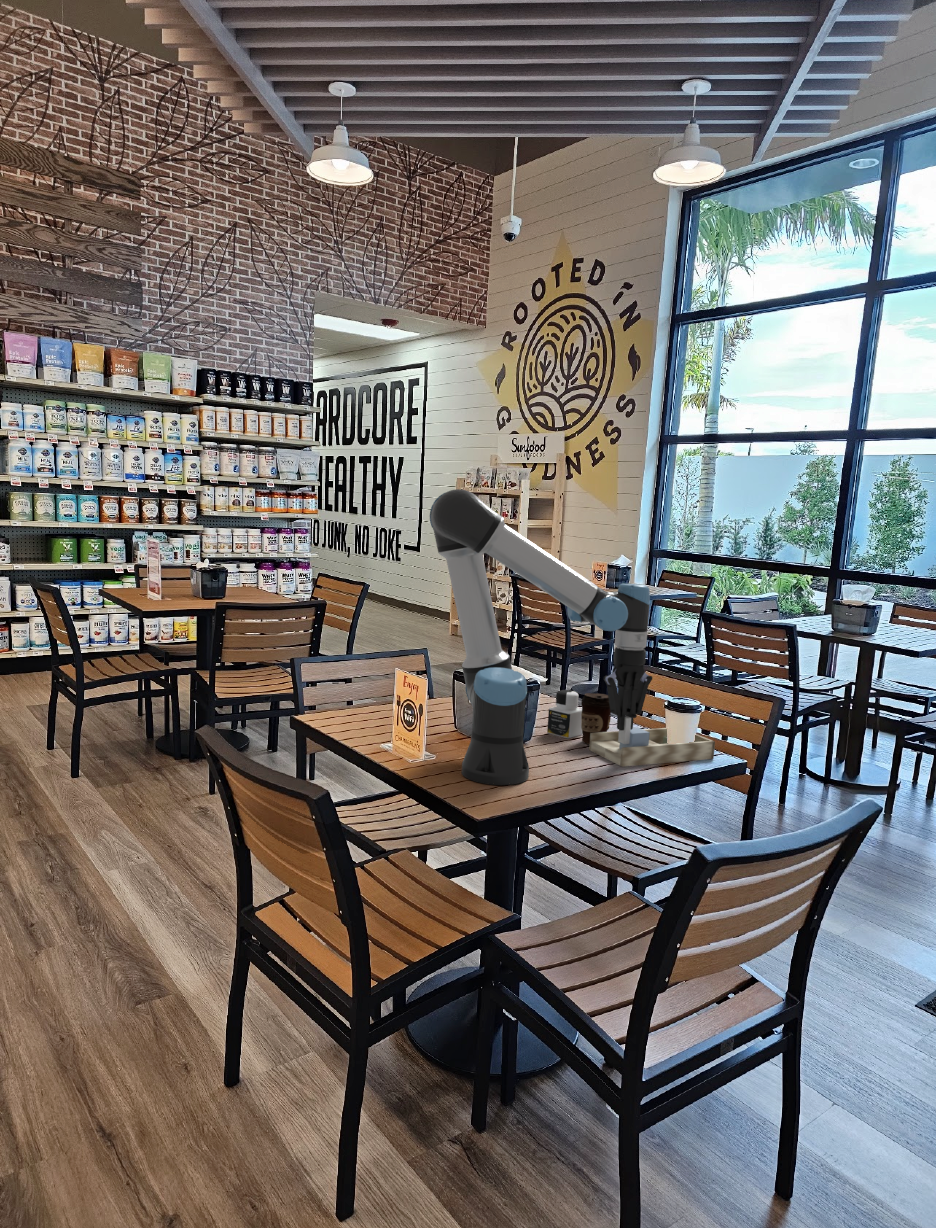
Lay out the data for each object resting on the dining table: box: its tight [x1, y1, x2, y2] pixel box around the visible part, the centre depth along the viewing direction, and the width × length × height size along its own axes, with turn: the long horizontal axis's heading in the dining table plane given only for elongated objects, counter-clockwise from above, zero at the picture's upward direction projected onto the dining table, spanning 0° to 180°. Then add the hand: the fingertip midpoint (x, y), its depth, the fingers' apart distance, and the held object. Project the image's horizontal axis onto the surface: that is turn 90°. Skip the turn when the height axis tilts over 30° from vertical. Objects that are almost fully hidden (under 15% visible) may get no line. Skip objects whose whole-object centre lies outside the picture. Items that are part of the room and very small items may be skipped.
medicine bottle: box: [546, 689, 583, 739], centre depth 218 cm, size 7×7×12 cm
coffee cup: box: [581, 692, 612, 745], centre depth 210 cm, size 9×8×13 cm
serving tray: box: [588, 727, 716, 768], centre depth 202 cm, size 28×14×4 cm, turn 114°
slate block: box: [619, 726, 650, 749], centre depth 196 cm, size 5×5×5 cm
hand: (623, 742), depth 195 cm, fingers closed
